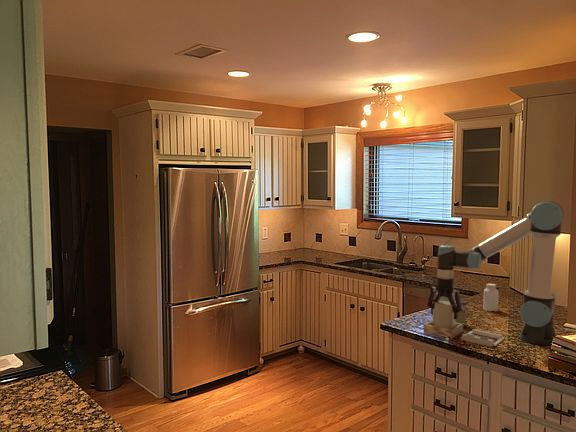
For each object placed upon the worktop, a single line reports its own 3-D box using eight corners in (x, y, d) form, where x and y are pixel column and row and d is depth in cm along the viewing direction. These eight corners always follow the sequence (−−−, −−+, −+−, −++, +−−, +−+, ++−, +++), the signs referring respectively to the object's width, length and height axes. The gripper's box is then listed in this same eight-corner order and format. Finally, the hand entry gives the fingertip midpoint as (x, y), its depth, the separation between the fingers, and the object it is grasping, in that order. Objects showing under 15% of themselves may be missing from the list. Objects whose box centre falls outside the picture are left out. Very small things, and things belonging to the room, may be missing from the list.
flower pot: (462, 321, 250) (462, 308, 249) (470, 327, 240) (470, 313, 239) (443, 321, 250) (444, 308, 249) (450, 327, 240) (451, 313, 239)
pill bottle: (479, 309, 276) (480, 283, 275) (489, 307, 279) (490, 282, 278) (491, 312, 269) (492, 286, 268) (501, 311, 272) (502, 285, 271)
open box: (463, 331, 233) (463, 323, 232) (451, 338, 222) (452, 330, 222) (435, 325, 242) (435, 318, 241) (423, 332, 231) (423, 324, 231)
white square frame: (504, 339, 222) (504, 332, 221) (494, 347, 210) (494, 340, 210) (470, 332, 232) (471, 325, 231) (459, 339, 220) (459, 332, 220)
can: (430, 326, 232) (430, 301, 231) (440, 322, 238) (440, 298, 237) (447, 330, 225) (448, 305, 224) (457, 326, 231) (458, 302, 230)
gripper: (470, 279, 226) (468, 326, 227) (427, 273, 240) (426, 317, 241) (464, 281, 220) (463, 329, 222) (420, 275, 234) (419, 320, 236)
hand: (443, 323), depth 231 cm, fingers closed on can, 9 cm apart
